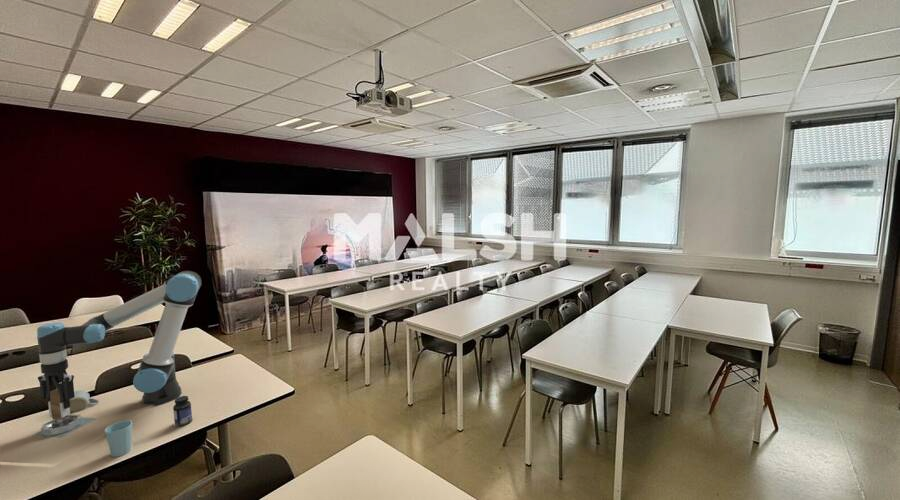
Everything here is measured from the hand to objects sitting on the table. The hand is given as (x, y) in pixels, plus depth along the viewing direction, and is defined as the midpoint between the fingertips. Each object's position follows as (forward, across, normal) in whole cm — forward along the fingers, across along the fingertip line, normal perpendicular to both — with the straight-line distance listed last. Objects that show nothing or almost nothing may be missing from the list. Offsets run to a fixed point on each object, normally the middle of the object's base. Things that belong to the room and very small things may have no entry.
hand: (60, 415), depth 151 cm
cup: (+6, -39, +12) cm, 41 cm away
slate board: (+6, -1, -1) cm, 7 cm away
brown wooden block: (+1, 0, 0) cm, 1 cm away
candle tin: (+6, 0, 0) cm, 6 cm away
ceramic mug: (+7, +10, -17) cm, 21 cm away
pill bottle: (+6, -47, -8) cm, 48 cm away
